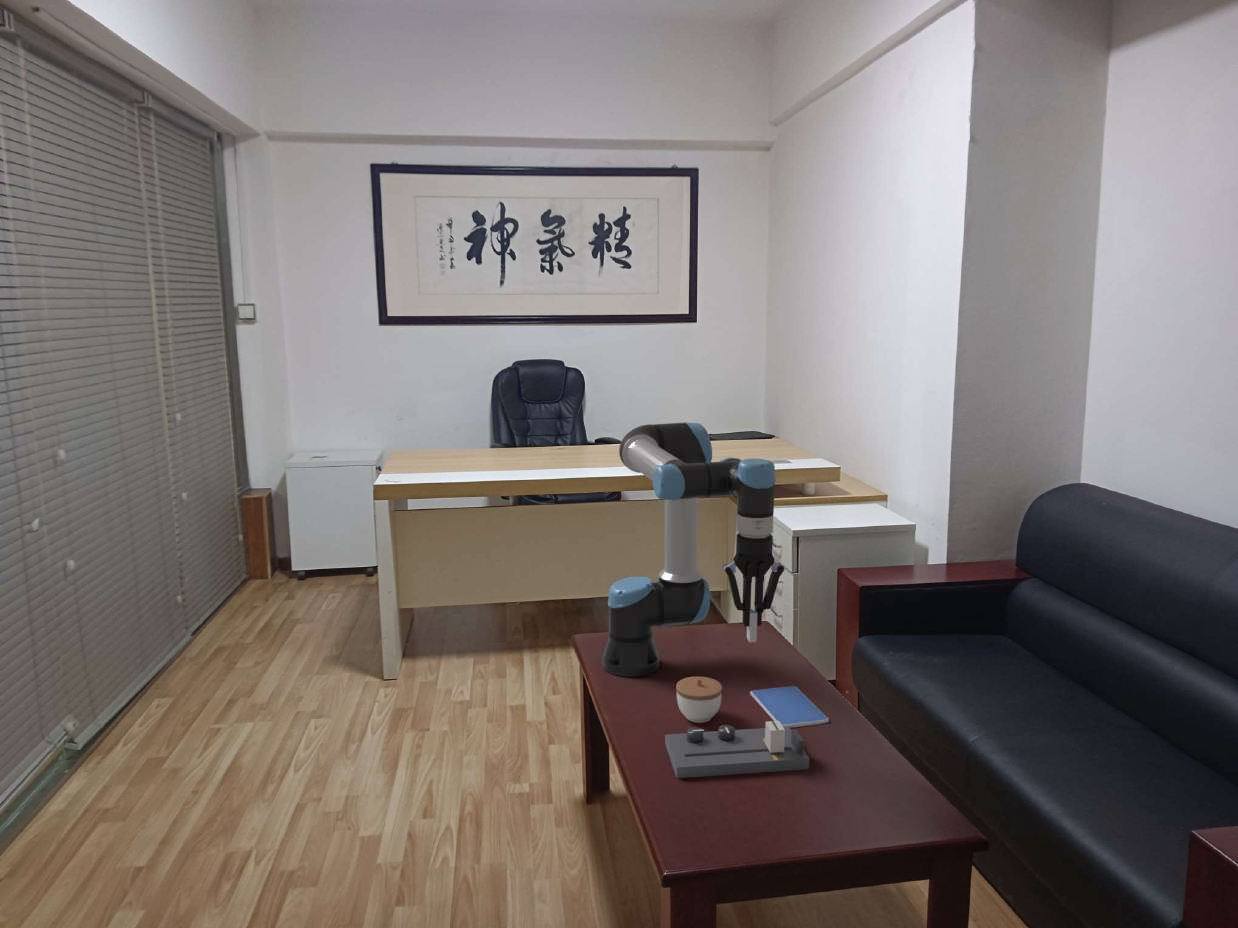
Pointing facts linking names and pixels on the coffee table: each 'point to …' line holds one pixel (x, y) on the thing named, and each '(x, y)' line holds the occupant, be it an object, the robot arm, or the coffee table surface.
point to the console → (732, 752)
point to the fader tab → (774, 736)
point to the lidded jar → (699, 698)
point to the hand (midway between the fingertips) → (751, 639)
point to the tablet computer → (789, 706)
